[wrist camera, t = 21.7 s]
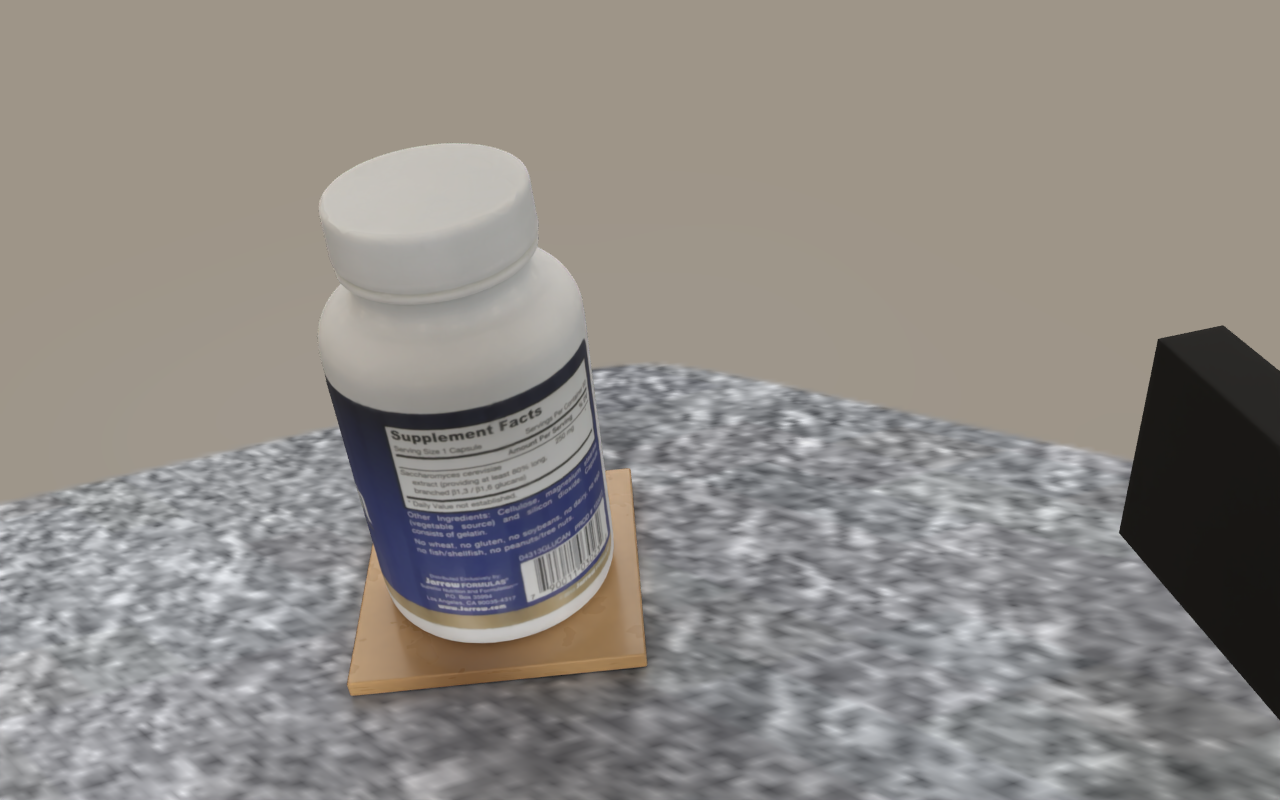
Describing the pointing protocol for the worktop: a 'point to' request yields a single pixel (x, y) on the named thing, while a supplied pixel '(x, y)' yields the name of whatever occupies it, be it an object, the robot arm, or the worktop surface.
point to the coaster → (578, 644)
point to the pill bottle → (464, 393)
